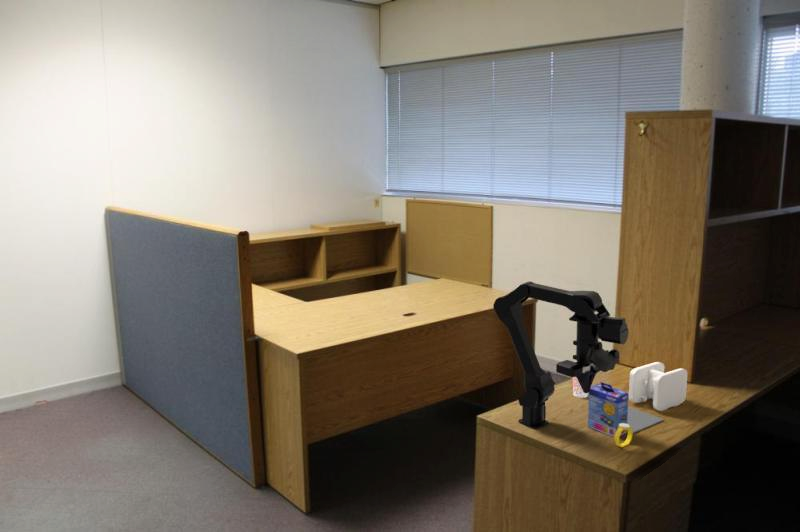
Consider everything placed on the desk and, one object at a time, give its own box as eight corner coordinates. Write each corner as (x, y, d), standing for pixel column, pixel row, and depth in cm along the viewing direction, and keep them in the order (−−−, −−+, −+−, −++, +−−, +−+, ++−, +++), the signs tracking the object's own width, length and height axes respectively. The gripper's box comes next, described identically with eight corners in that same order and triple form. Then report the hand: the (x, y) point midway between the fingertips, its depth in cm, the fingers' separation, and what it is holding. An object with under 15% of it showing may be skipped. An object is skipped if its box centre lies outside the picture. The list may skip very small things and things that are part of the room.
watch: (625, 441, 184) (627, 421, 183) (634, 445, 182) (636, 424, 181) (611, 446, 181) (613, 425, 180) (620, 450, 178) (622, 428, 178)
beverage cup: (584, 390, 221) (585, 350, 218) (594, 397, 215) (595, 355, 212) (567, 392, 219) (568, 351, 217) (577, 399, 213) (578, 357, 211)
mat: (632, 433, 188) (632, 432, 188) (597, 420, 198) (597, 418, 198) (664, 420, 196) (664, 419, 196) (629, 407, 206) (629, 406, 206)
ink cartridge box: (586, 427, 193) (588, 379, 190) (597, 422, 196) (599, 375, 194) (616, 438, 185) (618, 389, 183) (627, 432, 189) (630, 384, 186)
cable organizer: (655, 414, 201) (657, 378, 199) (626, 403, 210) (628, 368, 207) (686, 403, 209) (688, 368, 207) (657, 393, 217) (659, 359, 215)
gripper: (588, 351, 169) (587, 410, 172) (634, 338, 180) (632, 393, 183) (555, 342, 178) (554, 397, 181) (600, 329, 189) (598, 382, 192)
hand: (586, 392), depth 184 cm, fingers closed
